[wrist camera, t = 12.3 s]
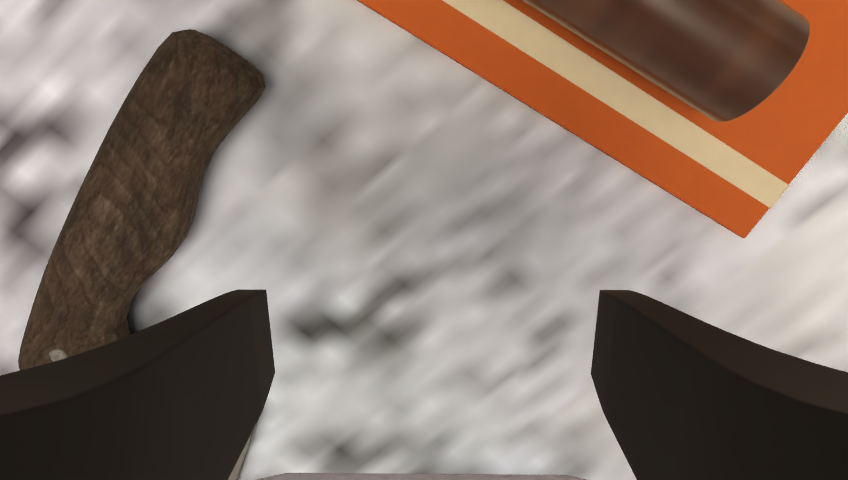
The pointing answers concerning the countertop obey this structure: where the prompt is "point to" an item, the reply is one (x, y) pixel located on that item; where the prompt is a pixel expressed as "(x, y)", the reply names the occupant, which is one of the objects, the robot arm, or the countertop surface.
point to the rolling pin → (694, 45)
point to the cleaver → (138, 196)
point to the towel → (650, 100)
